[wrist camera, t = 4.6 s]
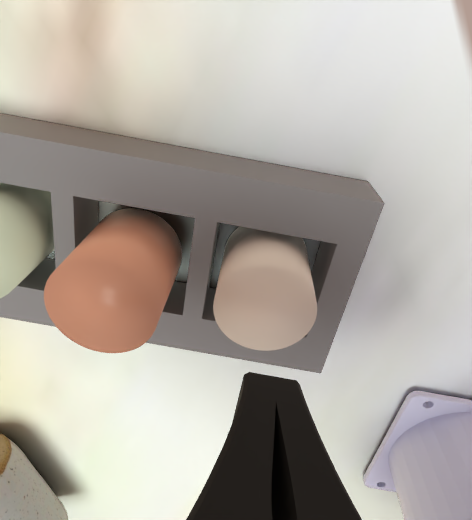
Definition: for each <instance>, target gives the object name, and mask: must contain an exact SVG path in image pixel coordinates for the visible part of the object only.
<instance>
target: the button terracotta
mask: <svg viewBox="0 0 472 520" xmlns="http://www.w3.org/2000/svg"><path fill="white" fill-rule="evenodd" d="M181 261H182V247H181V243H180V241H179V238H178V236H177V234H176V233H175V231H174V230H173V229H172V227H171V226H170V225H169V224H168V223H167V222H166V221H164V220H163V219H162V218H160V217H159V216H157V215H155V214H153V213H151V212H148V211H145V210H141V209H134V208H127V209H121V210H117V211H115V212H112V213H110V214H109V215H107V216H106V217H105V218H104V219H102V221H101V222H100V223H99V224H98V225H97V226H96V227H95V228H94V229H93V230H92V231H91V232H90V233H89V234H88V235H87V236H86V238H85V239H84V240H83V241H82V242H81V243H80V244H79V245H78V246H77V247H76V248H75V249H74V250H73V251H72V252H71V253H70V255H69V256H68V257H67V258H66V259H65V260H64V261H63V262H62V263H61V264H60V265H59V266H58V267H57V268H56V269H55V270H54V272H53V273H52V274H51V275H50V277H49V278H48V280H47V282H46V285H45V289H44V303H45V307H46V310H47V313H48V315H49V317H50V318H51V320H52V322H53V323H54V324H55V326H56V327H57V328H58V329H59V330H60V331H61V332H62V333H63V334H64V335H65V336H67V337H68V338H69V339H71V340H72V341H74V342H75V343H77V344H79V345H81V346H83V347H86V348H88V349H91V350H94V351H99V352H105V353H122V352H127V351H130V350H134V349H136V348H138V347H140V346H141V345H143V344H144V343H146V342H147V341H148V340H149V339H150V337H151V336H152V335H153V333H154V331H155V329H156V327H157V324H158V321H159V319H160V316H161V314H162V311H163V309H164V306H165V304H166V301H167V298H168V296H169V293H170V291H171V288H172V286H173V283H174V281H175V278H176V276H177V273H178V270H179V268H180V265H181Z"/></svg>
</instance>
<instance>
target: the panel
mask: <svg viewBox="0 0 472 520" xmlns="http://www.w3.org/2000/svg"><path fill="white" fill-rule="evenodd" d="M0 183H5V184H11V185H16V186H22V187H27V188H32V189H38V190H43V191H49V192H51V205H52V220H53V235H54V250H55V260H54V259H48V258H45V259H44V260H43V261H42V262H41V263H40V264H39V265H38V266H37V267H36V268H35V269H34V270H33V271H32V272H31V273H30V274H29V275H28V276H27V277H26V278H24V279H23V280H22V281H21V282H20V283H19V284H18V285H17V286H16V287H15V288H14V289H13V290H12V291H11V292H10V293H9V294H8V295H6V296H4V297H2V298H0V317H4V318H9V319H15V320H21V321H27V322H32V323H38V324H44V325H49V326H55V324H54V323H53V322H52V320H51V318H50V317H49V315H48V313H47V310H46V307H45V303H44V289H45V285H46V282H47V280H48V278H49V277H50V275H51V274H52V273H53V272H54V270H55V269H56V268H57V267H58V266H59V265H60V264H61V263H62V262H63V261H64V260H65V259H66V258H67V257H68V256H69V255H70V253H71V252H72V251H73V250H74V249H75V248H76V247H77V246H78V245H79V244H80V243H81V242H82V241H83V240H84V239H85V238H86V236H87V235H88V234H89V233H90V232H91V231H92V230H93V229H94V228H95V227H96V226H97V225H98V224H99V218H98V201H104V202H109V203H115V204H120V205H126V206H131V207H137V208H142V209H148V210H153V211H159V212H164V213H169V214H175V215H180V216H186V217H191V218H195V221H194V229H193V237H192V245H191V253H190V261H189V269H188V277H187V283H182V282H176V281H174V283H173V286H172V288H171V291H170V293H169V296H168V298H167V301H166V304H165V306H164V309H163V311H162V314H161V316H160V319H159V321H158V324H157V327H156V329H155V331H154V333H153V335H152V336H151V337H150V339H149V340H148V341H147V342H146V343H152V344H157V345H163V346H169V347H174V348H180V349H186V350H191V351H197V352H203V353H208V354H214V355H220V356H225V357H231V358H237V359H242V360H248V361H254V362H260V363H265V364H271V365H277V366H282V367H288V368H294V369H299V370H305V371H311V372H316V373H321V371H322V369H323V366H324V363H325V361H326V358H327V355H328V353H329V350H330V347H331V345H332V342H333V339H334V337H335V334H336V331H337V329H338V326H339V323H340V321H341V318H342V315H343V313H344V310H345V307H346V304H347V302H348V299H349V296H350V294H351V291H352V288H353V286H354V283H355V280H356V278H357V275H358V272H359V270H360V267H361V264H362V262H363V259H364V256H365V254H366V251H367V248H368V246H369V243H370V240H371V238H372V235H373V232H374V229H375V227H376V224H377V221H378V219H379V216H380V213H381V211H382V208H383V205H384V202H383V201H382V199H381V198H380V197H379V195H378V194H377V193H376V191H375V190H374V188H373V187H372V186H371V184H370V183H369V182H368V181H363V180H357V179H352V178H346V177H341V176H336V175H330V174H325V173H320V172H314V171H309V170H303V169H298V168H293V167H287V166H282V165H276V164H271V163H266V162H260V161H255V160H250V159H244V158H239V157H233V156H228V155H223V154H217V153H212V152H207V151H201V150H196V149H190V148H185V147H180V146H174V145H169V144H164V143H158V142H153V141H147V140H142V139H137V138H131V137H126V136H120V135H115V134H110V133H104V132H99V131H94V130H88V129H83V128H77V127H72V126H67V125H61V124H56V123H51V122H45V121H40V120H34V119H29V118H24V117H18V116H13V115H7V114H2V113H0ZM220 223H224V224H230V225H235V226H241V227H246V228H252V229H257V230H263V231H268V232H274V233H279V234H285V235H290V236H296V237H301V238H306V239H312V240H317V241H321V244H320V247H319V250H318V253H317V257H316V260H315V263H314V266H313V270H312V273H311V275H312V281H313V286H314V291H315V296H316V302H317V316H316V320H315V322H314V325H313V326H312V328H311V330H310V331H309V332H308V333H307V335H306V336H304V337H303V338H302V339H301V340H300V341H298V342H297V343H295V344H293V345H291V346H288V347H286V348H282V349H278V350H270V351H261V350H254V349H250V348H246V347H243V346H241V345H239V344H237V343H235V342H234V341H232V340H231V339H229V338H228V337H227V336H226V335H225V334H224V333H223V332H222V331H221V329H220V328H219V326H218V324H217V322H216V320H215V317H214V312H213V303H214V298H215V293H216V288H210V287H209V286H210V280H211V274H212V268H213V261H214V255H215V249H216V243H217V236H218V230H219V224H220ZM55 327H56V326H55Z"/></svg>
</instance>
